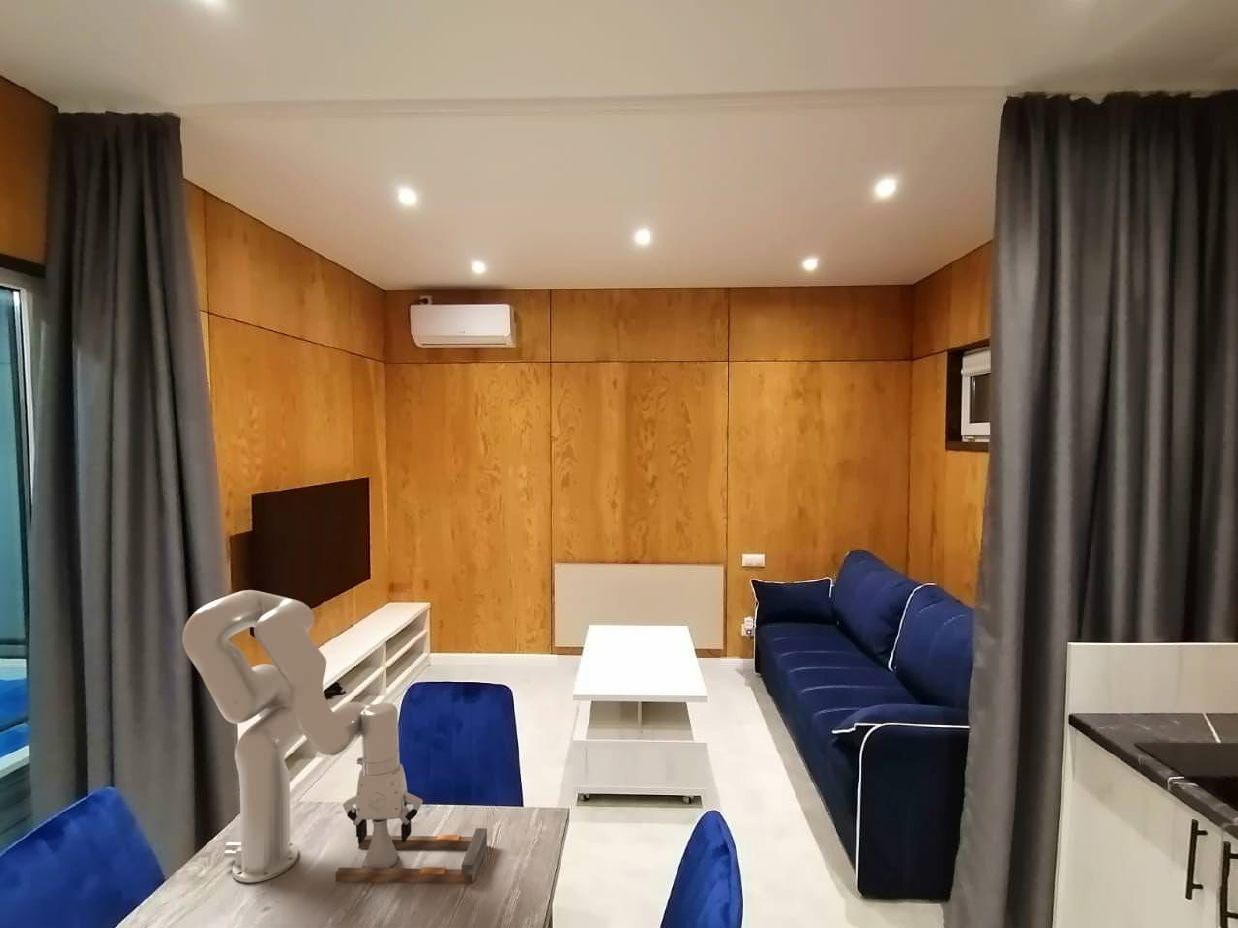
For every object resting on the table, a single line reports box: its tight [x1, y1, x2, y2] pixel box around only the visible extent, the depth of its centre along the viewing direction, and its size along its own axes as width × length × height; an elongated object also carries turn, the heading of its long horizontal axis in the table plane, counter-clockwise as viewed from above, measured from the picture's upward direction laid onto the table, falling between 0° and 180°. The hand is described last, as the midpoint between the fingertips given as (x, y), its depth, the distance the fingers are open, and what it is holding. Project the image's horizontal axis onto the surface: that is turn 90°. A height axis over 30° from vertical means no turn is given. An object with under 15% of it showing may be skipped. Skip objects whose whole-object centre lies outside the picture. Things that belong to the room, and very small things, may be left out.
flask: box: [361, 819, 399, 868], centre depth 135 cm, size 7×7×10 cm
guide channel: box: [335, 827, 488, 885], centre depth 135 cm, size 29×13×4 cm, turn 89°
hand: (384, 838), depth 135 cm, fingers open, 9 cm apart
